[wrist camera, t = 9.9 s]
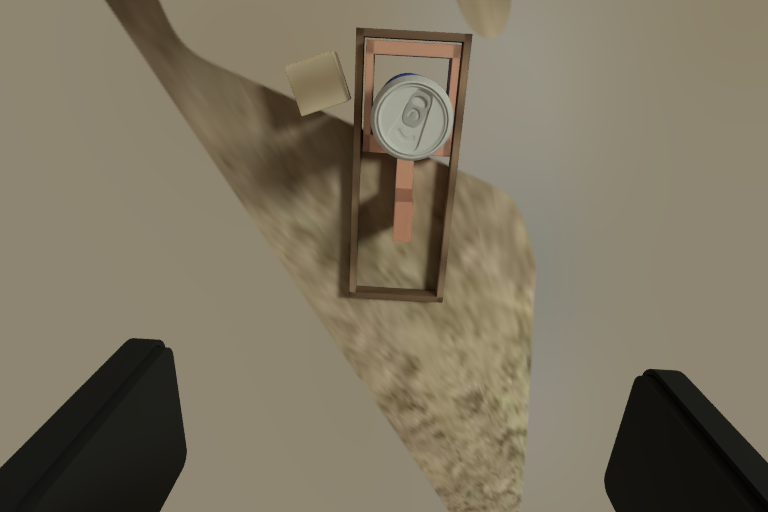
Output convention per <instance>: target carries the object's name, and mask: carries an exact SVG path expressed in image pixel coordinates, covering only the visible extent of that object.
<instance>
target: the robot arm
mask: <svg viewBox="0 0 768 512" xmlns="http://www.w3.org/2000/svg"><path fill="white" fill-rule="evenodd" d="M186 454H187V448H186V441H185V434H184V427H183V420H182V413H181V406H180V399H179V392H178V385H177V378H176V370H175V364H174V356H173V352H172V350H171V349H170V348H166V347H165V345H164V343H163V341H161V340H154V339H137V338H132V339H129V340H128V341H126V342H125V343H124V344H123V345H122V346H121V347H120V348H119V349H118V350H117V351H116V352H115V353H114V354H113V355H112V356H111V357H110V358H109V359H108V360H107V361H106V362H105V363H104V364H103V365H102V366H101V367H100V368H99V370H97V371H96V372H95V373H94V374H93V375H92V376H91V377H90V378H89V379H88V381H86V382H85V383H84V384H83V385H82V386H81V387H80V389H78V390H77V391H76V392H75V394H73V395H72V396H71V397H70V399H68V400H67V401H66V402H65V403H64V404H63V406H61V407H60V409H58V410H57V412H56V413H55V414H54V415H53V416H52V417H51V418H50V419H49V420H48V421H47V422H46V423H45V424H44V425H43V426H42V427H41V428H40V429H39V430H38V431H37V432H36V433H35V434H34V435H33V436H32V437H31V438H30V439H29V440H28V441H27V442H26V443H25V444H24V445H23V446H22V447H21V448H20V449H19V450H18V451H17V452H16V453H15V454H14V455H13V456H12V457H11V458H10V459H9V460H8V461H7V462H6V463H5V464H4V465H3V466H2V467H1V468H0V512H160V510H161V508H162V506H163V505H164V503H165V501H166V499H167V497H168V495H169V493H170V492H171V490H172V488H173V486H174V484H175V482H176V480H177V478H178V477H179V475H180V473H181V471H182V469H183V467H184V463H185V460H186ZM604 483H605V489H606V493H607V495H608V497H609V499H610V501H611V503H612V505H613V507H614V509H615V511H616V512H768V463H767V462H766V461H765V459H763V458H762V456H761V455H760V454H759V453H758V452H757V451H756V450H755V449H754V448H753V447H752V446H751V445H750V443H748V442H747V440H746V439H745V438H744V437H743V436H742V435H741V434H740V433H739V432H738V431H737V430H736V429H735V428H734V427H733V426H732V424H731V423H730V422H729V421H728V420H727V419H726V418H725V417H724V416H723V415H722V414H721V413H720V412H719V411H718V409H717V408H716V407H714V405H713V404H712V403H711V402H710V401H709V400H708V399H707V398H706V397H705V396H704V395H703V394H702V393H701V391H700V390H699V389H698V388H697V387H696V386H695V385H694V384H693V383H692V382H691V381H690V380H689V379H688V378H687V377H686V376H685V375H684V374H683V373H682V372H680V371H674V370H657V369H648V370H646V371H645V372H644V373H643V375H642V376H638V377H637V378H635V380H634V383H633V386H632V389H631V392H630V395H629V399H628V402H627V405H626V408H625V412H624V415H623V418H622V421H621V424H620V428H619V431H618V434H617V437H616V440H615V444H614V447H613V450H612V453H611V457H610V460H609V463H608V466H607V469H606V473H605V478H604Z"/></svg>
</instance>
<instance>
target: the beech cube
mask: <svg viewBox="0 0 768 512" xmlns="http://www.w3.org/2000/svg"><path fill="white" fill-rule="evenodd" d="M284 68H285V71H286V74H287V77H288V79H289V82H290V85H291V88H292V90H293V93H294V96H295V99H296V102H297V104H298V107H299V110H300V113H301V116H304V115H307V114H310V113H313V112H316V111H319V110H323V109H325V108H329V107H332V106H334V105H338V104H341V103H344V102H347V101H349V100H350V99H351V96H350V93H349V90H348V87H347V83H346V80H345V77H344V74H343V71H342V68H341V65H340V61H339V58H338V55H337V53H336V52H333V51H329V52H327V53H323V54H321V55H317V56H314V57H312V58H309V59H306V60H303V61H300V62H297V63H294V64H291V65H288V66H285V67H284Z"/></svg>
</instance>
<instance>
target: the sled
mask: <svg viewBox="0 0 768 512" xmlns="http://www.w3.org/2000/svg"><path fill="white" fill-rule="evenodd" d="M375 54H377V55H396V56H413V57H430V58H448V59H450V61H449V71H448V81H447V91H446V94H447V95H448V97H449V99H450V102H451V104H452V109H453V120H454V111H455V101H456V92H457V82H458V73H459V63H460V54H461V45H452V44H435V43H416V42H399V41H398V42H397V41H381V40H367V47H366V75H365V76H366V77H365V104H364V105H365V106H364V133H363V152H378V153H387V152H386V151H384V150H383V149H382V148H381V146H380V145H379V144H378V142H377V141H376V139H375V137H374V135H373V132H372V128H371V110H372V106H373V88H374V87H373V86H374V63H375ZM452 130H453V126H452ZM452 130H451V133H450V135H449V137H448V139H447V141H446V142H445V144H444V145H443V146H442V147H441V148H440V149H439V150H438V151H437V152H436V153H434V154H433V155H431V156H448V157H449V156H450V149H451V139H452ZM413 166H414V161H406V160H401V159H398V158H397V169H396V185H395V201H394V217H393V241H400V242H410V240H411V227H412V214H413V195H412V179H413Z"/></svg>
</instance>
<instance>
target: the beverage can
mask: <svg viewBox="0 0 768 512" xmlns="http://www.w3.org/2000/svg"><path fill="white" fill-rule="evenodd" d="M452 126H453V109H452V104H451V102H450V99H449V97H448V95H447V94H446V92H445V91H444V90H443V88H442V87H441V86H440V85H439V84H437V83H436V82H435V81H433V80H431V79H429V78H427V77H424V76H420V75H417V74H412V73H404V74H400V75H397V76H395V77H393V78H391V79H390V80H389V81H388V82H387V83H386V84H385V85H384V87H383V88H382V89H381V91H380V92H379V93H378V95H377V96H376V99H375V100H374V103H373V106H372V110H371V128H372V132H373V135H374V137H375V139H376V141H377V142H378V144H379V145H380V146H381V148H382V149H383V150H384V151H386V152H387V153H388V154H390V155H391V156H393V157H395V158H398V159H401V160H406V161H416V160H421V159H425V158H427V157H429V156H431V155H433V154H434V153H436V152H437V151H438V150H439V149H440V148H441V147H442V146H443V145H444V144H445V142H446V141H447V139H448V137H449V135H450V133H451V130H452Z"/></svg>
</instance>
